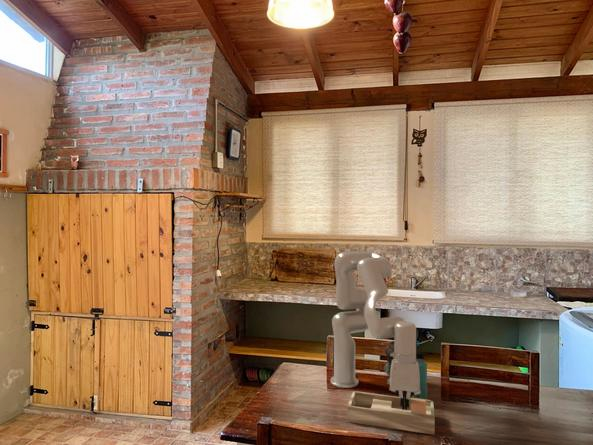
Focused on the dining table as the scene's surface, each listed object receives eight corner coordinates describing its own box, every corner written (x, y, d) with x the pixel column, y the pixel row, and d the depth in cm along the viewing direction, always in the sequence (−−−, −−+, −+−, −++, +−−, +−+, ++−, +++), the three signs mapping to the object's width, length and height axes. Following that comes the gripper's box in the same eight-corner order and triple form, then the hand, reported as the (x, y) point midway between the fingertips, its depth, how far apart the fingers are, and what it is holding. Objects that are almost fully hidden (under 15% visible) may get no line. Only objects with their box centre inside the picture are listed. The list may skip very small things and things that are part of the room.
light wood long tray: (353, 404, 161) (353, 390, 160) (433, 415, 152) (433, 400, 152) (347, 421, 147) (347, 405, 147) (434, 434, 139) (434, 417, 139)
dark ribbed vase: (414, 388, 177) (415, 347, 177) (387, 388, 177) (387, 347, 177) (407, 377, 189) (408, 339, 189) (381, 377, 189) (382, 338, 189)
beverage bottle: (427, 399, 166) (427, 350, 166) (427, 406, 160) (427, 355, 160) (411, 397, 168) (411, 348, 168) (409, 403, 162) (410, 353, 162)
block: (411, 411, 147) (411, 397, 147) (425, 413, 145) (425, 399, 145) (410, 418, 142) (411, 403, 142) (425, 420, 140) (426, 405, 140)
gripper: (382, 358, 144) (382, 410, 144) (427, 362, 139) (426, 416, 139) (384, 351, 151) (384, 401, 151) (426, 356, 146) (426, 406, 146)
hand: (404, 408), depth 145 cm, fingers closed
